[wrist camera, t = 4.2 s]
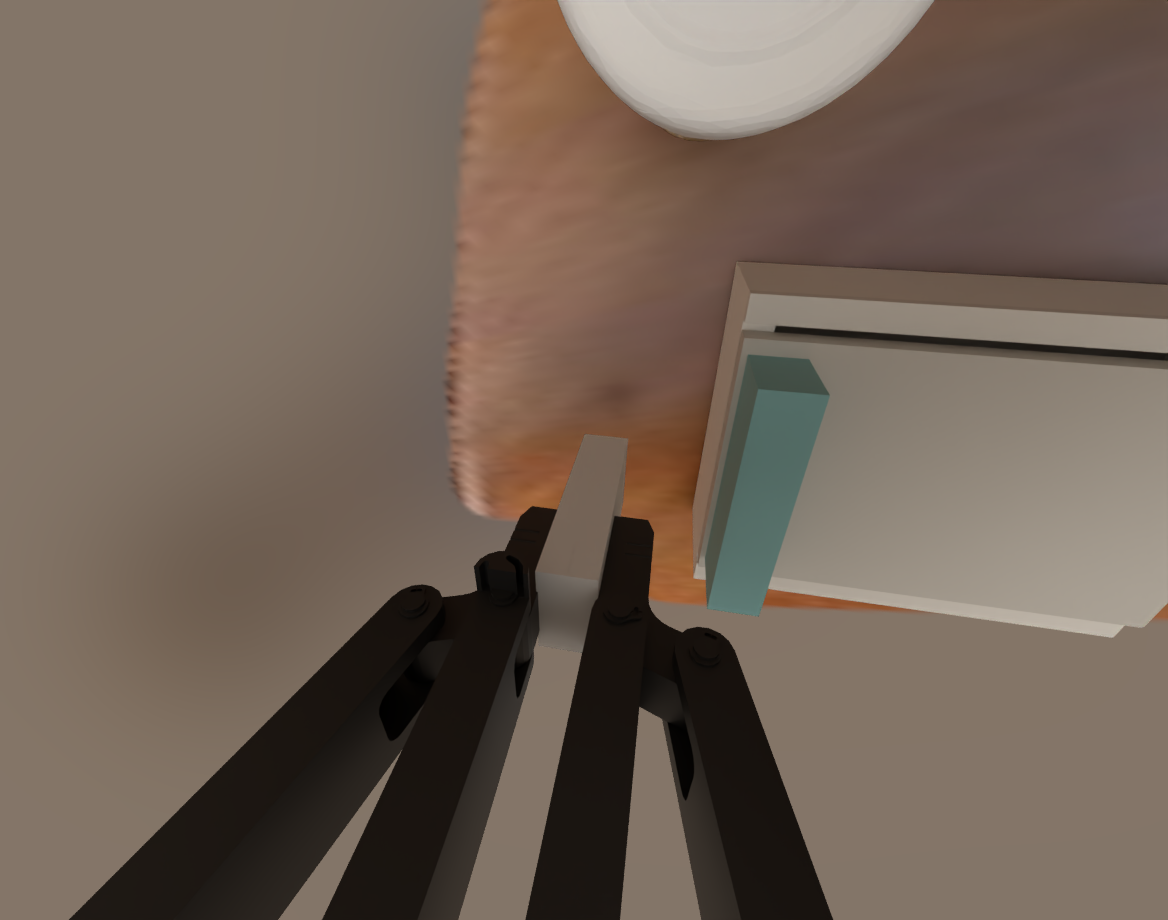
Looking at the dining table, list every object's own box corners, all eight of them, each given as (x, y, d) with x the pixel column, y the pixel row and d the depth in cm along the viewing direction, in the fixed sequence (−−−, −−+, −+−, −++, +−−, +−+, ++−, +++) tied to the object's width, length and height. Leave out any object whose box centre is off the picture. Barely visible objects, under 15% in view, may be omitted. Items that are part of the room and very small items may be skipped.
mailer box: (1224, 287, 16) (1401, 334, 12) (1037, 550, 23) (1113, 637, 19) (736, 261, 19) (750, 293, 15) (692, 508, 25) (693, 578, 21)
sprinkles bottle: (611, 32, 16) (427, -253, 5) (749, -85, 14) (1016, -1055, 3) (675, 173, 17) (655, 218, 6) (805, 86, 16) (1107, -66, 4)
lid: (1347, 373, 13) (1526, 434, 10) (1126, 610, 18) (1205, 694, 16) (741, 329, 15) (754, 370, 13) (697, 553, 21) (699, 617, 18)
